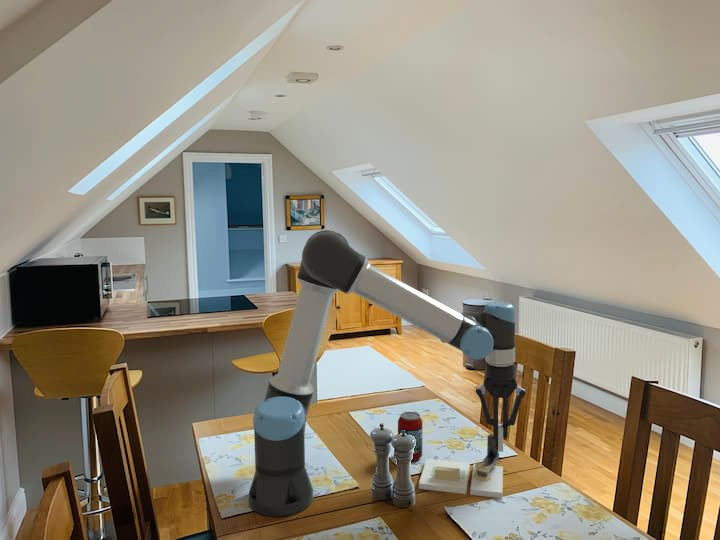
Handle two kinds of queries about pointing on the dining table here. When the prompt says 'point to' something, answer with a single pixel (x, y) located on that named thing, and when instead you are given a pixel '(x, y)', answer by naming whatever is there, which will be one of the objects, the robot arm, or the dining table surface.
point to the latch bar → (488, 457)
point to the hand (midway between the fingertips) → (500, 449)
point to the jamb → (488, 483)
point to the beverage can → (412, 430)
